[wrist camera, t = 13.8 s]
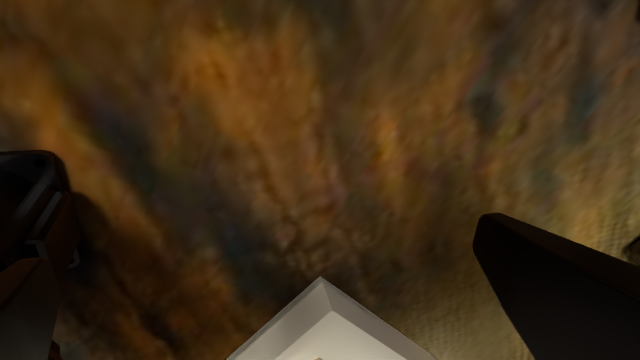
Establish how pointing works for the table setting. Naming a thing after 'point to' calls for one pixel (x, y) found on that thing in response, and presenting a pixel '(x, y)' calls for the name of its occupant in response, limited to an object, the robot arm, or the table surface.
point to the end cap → (635, 252)
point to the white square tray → (328, 331)
